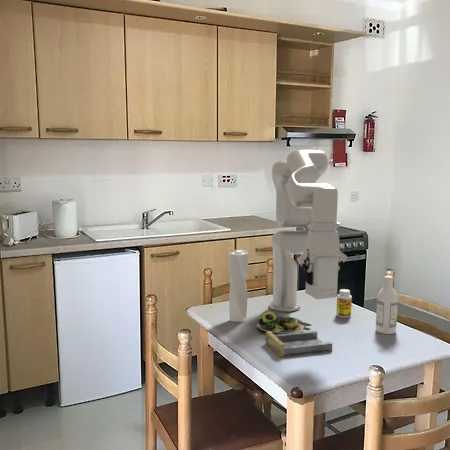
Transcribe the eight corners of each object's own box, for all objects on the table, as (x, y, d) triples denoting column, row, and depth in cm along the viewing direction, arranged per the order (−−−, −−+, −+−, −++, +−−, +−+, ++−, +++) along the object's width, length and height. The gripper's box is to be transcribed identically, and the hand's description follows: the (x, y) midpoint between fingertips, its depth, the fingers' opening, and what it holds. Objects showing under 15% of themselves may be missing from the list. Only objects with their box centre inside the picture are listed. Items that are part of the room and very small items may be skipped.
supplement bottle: (337, 318, 192) (338, 292, 191) (335, 313, 198) (336, 288, 196) (351, 318, 191) (353, 292, 190) (350, 314, 197) (351, 288, 195)
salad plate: (312, 322, 188) (312, 310, 188) (310, 339, 171) (310, 326, 170) (261, 318, 192) (261, 306, 192) (254, 334, 175) (254, 322, 174)
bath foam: (396, 329, 180) (399, 275, 177) (395, 335, 174) (399, 279, 171) (376, 327, 182) (378, 273, 180) (374, 333, 176) (377, 278, 173)
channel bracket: (265, 342, 167) (266, 331, 166) (315, 337, 172) (315, 326, 171) (279, 357, 155) (280, 344, 155) (332, 351, 160) (332, 339, 160)
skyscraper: (225, 321, 187) (226, 248, 183) (228, 315, 194) (229, 244, 190) (246, 323, 186) (247, 248, 181) (248, 316, 193) (249, 245, 189)
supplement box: (337, 297, 154) (339, 257, 152) (316, 299, 151) (318, 259, 149) (325, 290, 161) (326, 252, 159) (304, 292, 158) (306, 253, 156)
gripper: (343, 223, 158) (340, 277, 161) (292, 226, 154) (290, 281, 157) (355, 227, 151) (352, 284, 154) (302, 230, 147) (300, 288, 149)
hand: (321, 282), depth 155 cm, fingers closed on supplement box, 7 cm apart
